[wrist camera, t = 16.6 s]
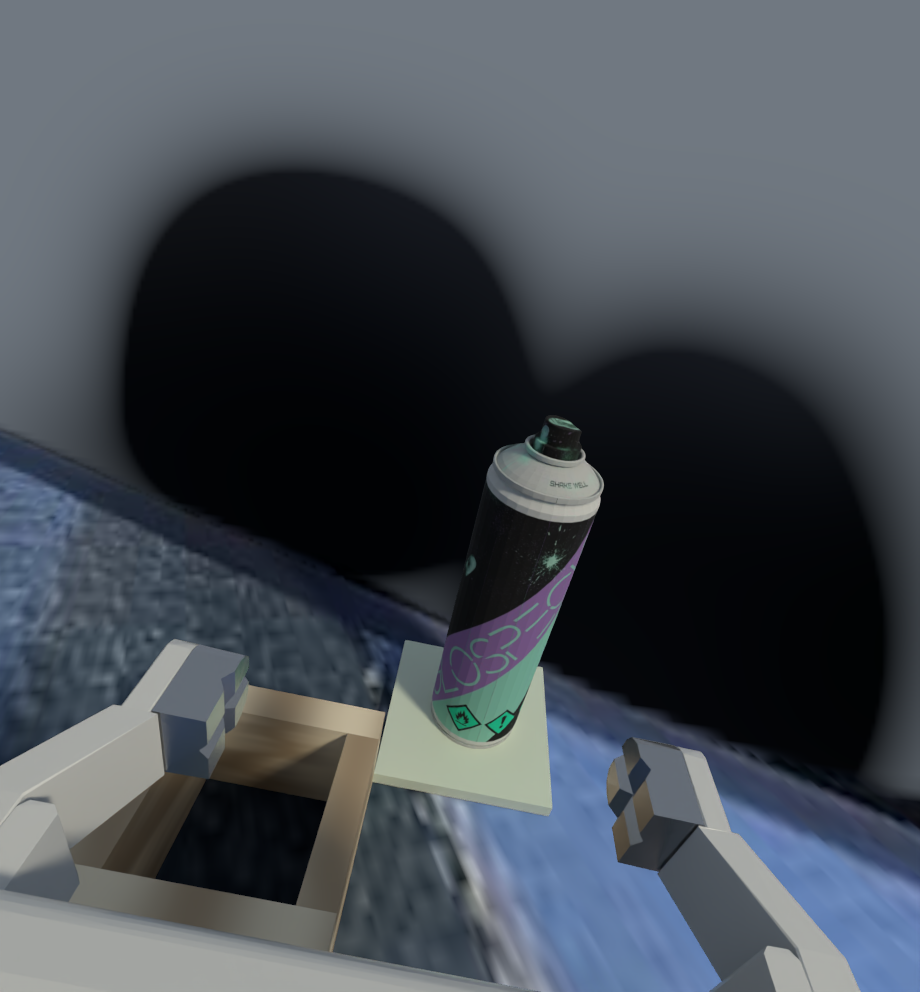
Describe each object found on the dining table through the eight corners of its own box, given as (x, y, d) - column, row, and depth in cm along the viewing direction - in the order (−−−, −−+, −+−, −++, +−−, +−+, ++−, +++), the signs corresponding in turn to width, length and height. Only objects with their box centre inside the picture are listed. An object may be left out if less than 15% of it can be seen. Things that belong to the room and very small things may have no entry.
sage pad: (372, 781, 29) (373, 773, 29) (403, 647, 38) (405, 639, 38) (548, 816, 30) (552, 808, 29) (539, 675, 38) (542, 667, 38)
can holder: (59, 980, 20) (25, 910, 17) (193, 746, 29) (185, 672, 26) (314, 1027, 21) (324, 966, 18) (372, 781, 29) (385, 712, 26)
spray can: (412, 711, 33) (480, 412, 23) (462, 661, 37) (538, 390, 27) (485, 768, 30) (596, 463, 20) (529, 708, 35) (640, 431, 25)
